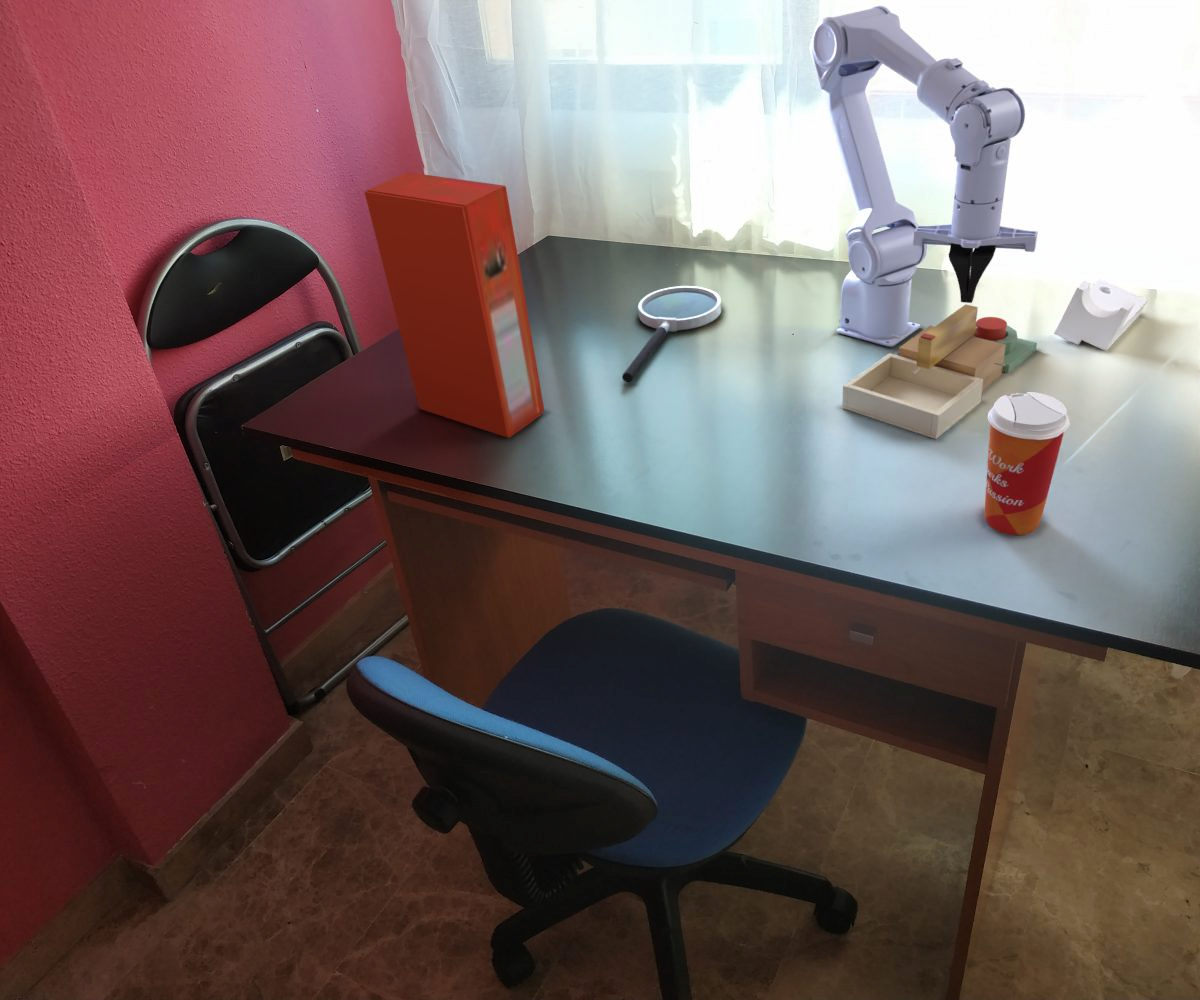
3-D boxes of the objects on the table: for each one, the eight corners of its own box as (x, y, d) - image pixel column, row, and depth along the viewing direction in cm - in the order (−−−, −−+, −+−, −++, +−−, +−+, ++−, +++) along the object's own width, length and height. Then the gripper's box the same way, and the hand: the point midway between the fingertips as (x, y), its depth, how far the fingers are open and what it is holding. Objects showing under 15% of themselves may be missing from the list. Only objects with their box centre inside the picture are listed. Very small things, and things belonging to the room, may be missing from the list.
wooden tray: (842, 408, 130) (842, 385, 128) (887, 375, 136) (889, 352, 134) (936, 439, 121) (938, 415, 119) (980, 402, 127) (983, 379, 125)
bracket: (1102, 356, 135) (1128, 310, 130) (1054, 333, 138) (1077, 287, 133) (1136, 320, 143) (1161, 275, 137) (1089, 299, 146) (1112, 254, 140)
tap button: (969, 337, 137) (970, 324, 135) (983, 327, 139) (985, 314, 138) (996, 344, 134) (998, 331, 133) (1010, 333, 136) (1012, 320, 135)
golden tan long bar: (962, 331, 134) (965, 302, 132) (974, 334, 133) (978, 305, 131) (916, 366, 128) (918, 336, 125) (928, 369, 127) (931, 339, 124)
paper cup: (963, 504, 110) (976, 394, 102) (1030, 495, 110) (1049, 384, 102) (992, 546, 104) (1009, 433, 96) (1064, 536, 104) (1087, 422, 96)
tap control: (940, 354, 139) (942, 335, 137) (968, 333, 143) (970, 314, 141) (1008, 373, 133) (1011, 353, 131) (1035, 350, 137) (1039, 330, 135)
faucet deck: (857, 388, 134) (858, 357, 131) (920, 343, 142) (923, 313, 140) (968, 423, 124) (972, 390, 121) (1029, 372, 132) (1034, 340, 130)
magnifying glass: (585, 380, 144) (584, 367, 143) (654, 294, 167) (653, 283, 166) (672, 388, 139) (671, 375, 138) (730, 298, 162) (730, 287, 161)
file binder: (506, 439, 133) (461, 206, 114) (418, 410, 142) (364, 190, 124) (544, 412, 138) (507, 184, 119) (457, 386, 147) (410, 171, 129)
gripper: (911, 205, 121) (904, 307, 129) (1039, 210, 115) (1023, 316, 123) (922, 186, 126) (914, 286, 134) (1044, 190, 120) (1029, 294, 128)
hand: (967, 299), depth 129 cm, fingers closed
